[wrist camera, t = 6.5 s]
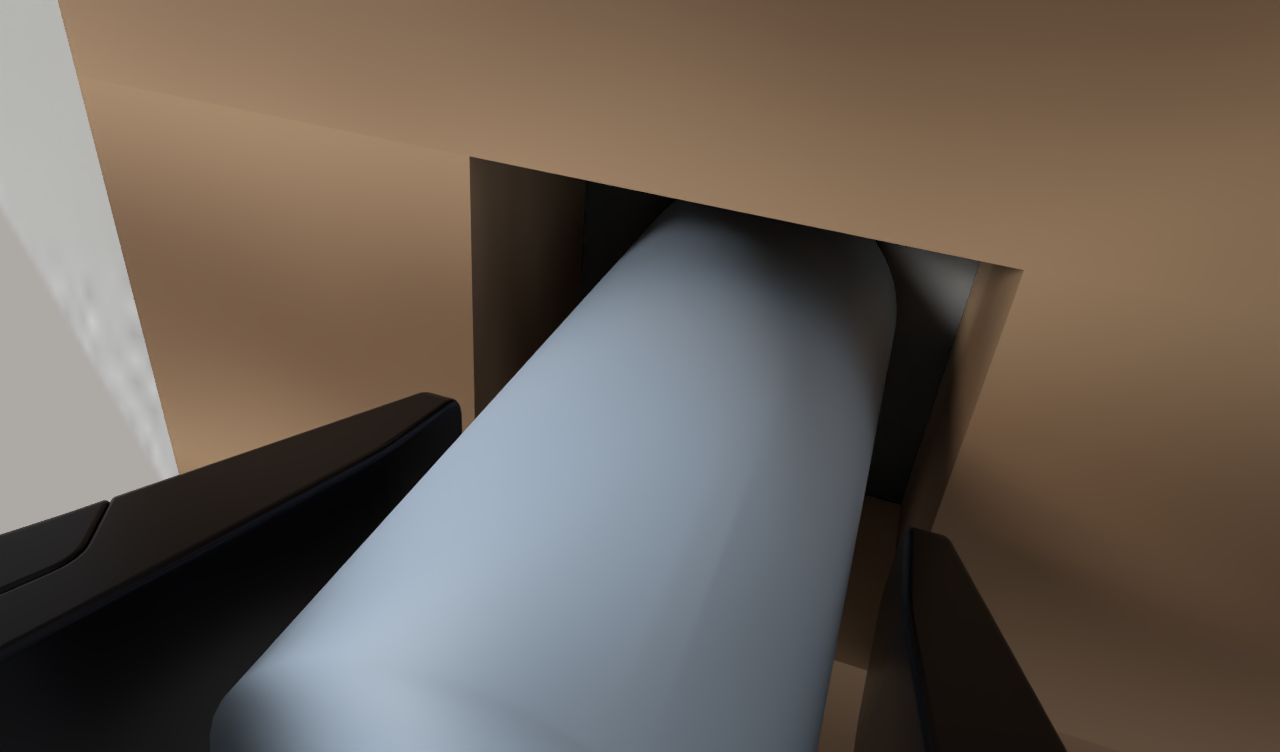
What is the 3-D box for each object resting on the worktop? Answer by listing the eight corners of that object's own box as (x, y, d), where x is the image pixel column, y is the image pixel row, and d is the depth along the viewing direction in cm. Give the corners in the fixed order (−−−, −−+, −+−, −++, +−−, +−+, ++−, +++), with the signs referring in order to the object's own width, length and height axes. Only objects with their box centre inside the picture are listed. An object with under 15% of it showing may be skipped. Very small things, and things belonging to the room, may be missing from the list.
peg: (862, 446, 14) (722, 1134, 6) (623, 384, 15) (256, 919, 7) (930, 206, 11) (839, 823, 4) (644, 150, 12) (154, 575, 5)
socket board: (1125, 809, 15) (1158, 1027, 12) (342, 549, 19) (229, 671, 16) (1923, -368, 7) (2610, -532, 4) (210, -430, 10) (-81, -539, 8)
